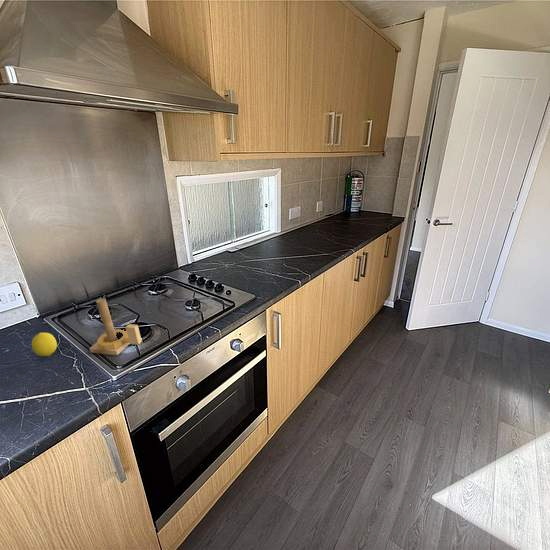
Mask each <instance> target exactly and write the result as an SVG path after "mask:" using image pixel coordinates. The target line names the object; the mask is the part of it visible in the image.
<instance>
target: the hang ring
mask: <svg viewBox="0 0 550 550" xmlns="http://www.w3.org/2000/svg"><path fill="white" fill-rule="evenodd" d="M121 329H122V328H119V329H118V328H117V329H114V330H115V333H116V335H117V333H119V332H120V333H122V334H123V336H122V337H121V338H120V339H119V340H116V341H114V342H107V343H106V342H104V341H105V340H107V339H108V338H107V335H106V332H104V333H103V334H101V335H100V336H99V337H98V338H97V342H96V343H98V346H99V347H100V348H102V349H113V347H114V348H116V347H118V346H121V345H122V344H124V343H130V344H129V345H137V346H139V345H140V344H141V343H142V342H143V341H142V337H141V336H142V335H141V333H140V328H139V325H138V324H131V323H130V324H127V325H126V326H125V329H123V330H121ZM124 330H126V331H124Z"/></svg>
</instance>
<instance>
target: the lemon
mask: <svg viewBox="0 0 550 550" xmlns="http://www.w3.org/2000/svg"><path fill="white" fill-rule="evenodd" d="M57 348H58V342H57V340H56V337H54V335H53V334H51V333H49V332H38V333H37V334H36V335H34V337H33V338H32V340H31V349H32V350H33V352H34V353H35V354H36V356H37V355H38V356H39V357H50V356H52V354H54V353H55V352H56V350H57Z"/></svg>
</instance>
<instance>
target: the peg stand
mask: <svg viewBox="0 0 550 550" xmlns="http://www.w3.org/2000/svg"><path fill="white" fill-rule="evenodd" d="M95 303H96V305H97V310H98V311H99V315H100V318H101V319H100V320H101V323H102V325H103V329H104V333H106V335H107V338H108V339H107V340H105V341H104V342H106V343H107V342H114V341H116V340H118V339H117V336H116V333H115V330H116V329H115V327H114V322H113V320H112V316H111V312H110V310H109V305H108V303H107V299H106V298H105V297H104V298H99V299H98V298H97V300H96V301H95ZM129 345H131V344H130V343H124V344H122V345H121V346H118V347H116V348H114V347H113V349H102V348H100V347H99V346H98V343H97V342H95V343H94V344H93V345H92V346H90V347H89V352H90V353H93V354H100V355H110V356H118V355H119V354H121V353H122V352H123V351H124V350H125V349H126V348H127V347H128V346H129Z"/></svg>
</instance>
